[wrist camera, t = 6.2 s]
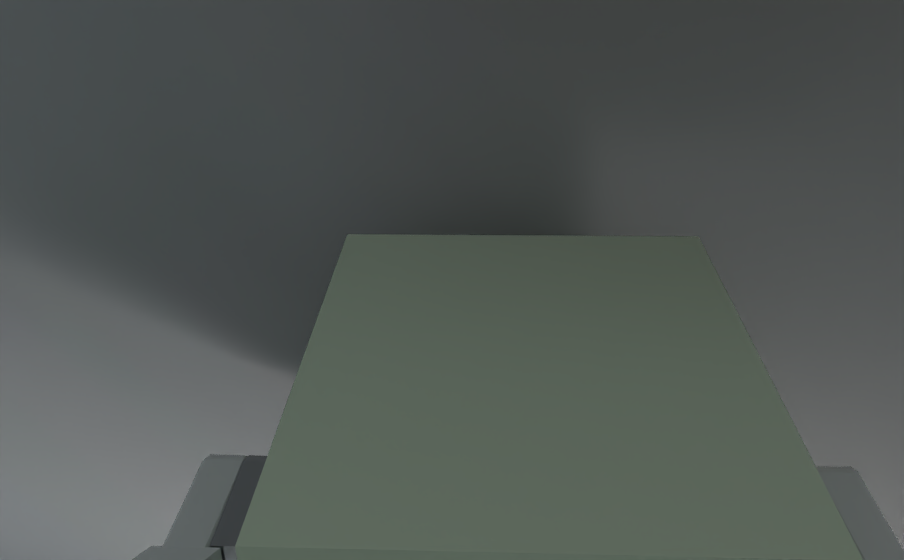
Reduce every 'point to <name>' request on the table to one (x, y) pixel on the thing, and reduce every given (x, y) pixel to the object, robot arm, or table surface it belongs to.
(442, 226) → the table surface
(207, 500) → the robot arm
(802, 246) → the table surface
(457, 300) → the sage block
